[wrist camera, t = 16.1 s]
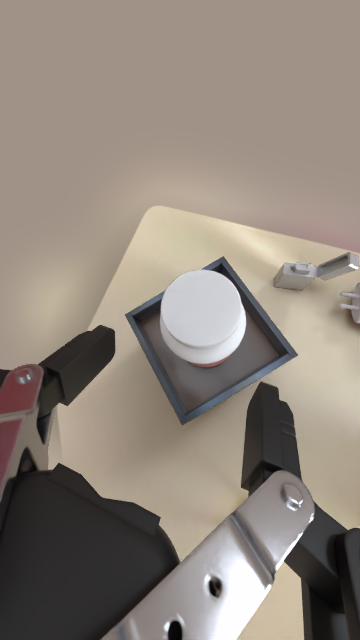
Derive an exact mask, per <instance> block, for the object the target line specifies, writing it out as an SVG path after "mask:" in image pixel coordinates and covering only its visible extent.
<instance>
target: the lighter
mask: <svg viewBox="0 0 360 640" xmlns="http://www.w3.org/2000/svg"><path fill="white" fill-rule="evenodd" d="M358 268H359V257H358V256H356V255H354V254H352V253H350V252H348V253H346V254H344V255H341V256H339V257H337V258H334V259H332V260H330V261H327V262H325V263H323V264H320V265H318V267H317V266H313V265H311V263H302V262H297V263H296V264H295V263H284V264H283V266H282V267H281V269H280V270H279V272H278V273H277V275H276V276H275V279H274V287H279V288H287V289H294V290H303V289H304V288H305V287H306V286H307V285H308V284H309V283H310V282H311V281H312V280H314V279H315V278H316V277H318V278H320V279H323V280H328V279H331V278H334V277H337V276H340V275H342V274H345V273H348V272H351V271H354V270H357V269H358Z"/></svg>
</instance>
